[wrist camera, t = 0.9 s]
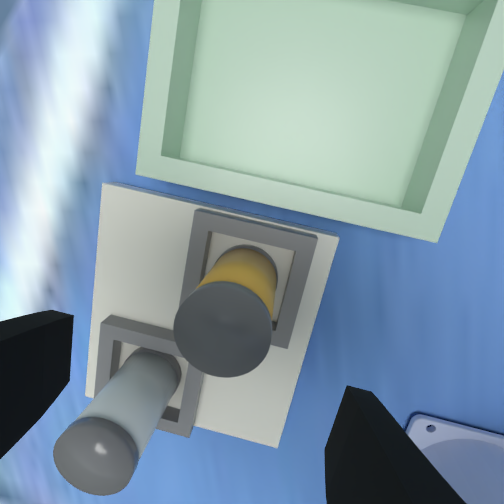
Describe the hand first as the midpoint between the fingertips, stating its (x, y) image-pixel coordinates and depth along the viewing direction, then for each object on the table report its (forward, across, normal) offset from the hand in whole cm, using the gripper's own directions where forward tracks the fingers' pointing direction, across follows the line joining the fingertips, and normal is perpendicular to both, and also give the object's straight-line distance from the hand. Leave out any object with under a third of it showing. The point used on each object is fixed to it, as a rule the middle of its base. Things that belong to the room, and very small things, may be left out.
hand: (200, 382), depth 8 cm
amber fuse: (+8, 0, 0) cm, 8 cm away
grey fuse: (+8, +4, +7) cm, 12 cm away
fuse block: (+10, +2, +4) cm, 11 cm away
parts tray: (+10, -1, -9) cm, 13 cm away
